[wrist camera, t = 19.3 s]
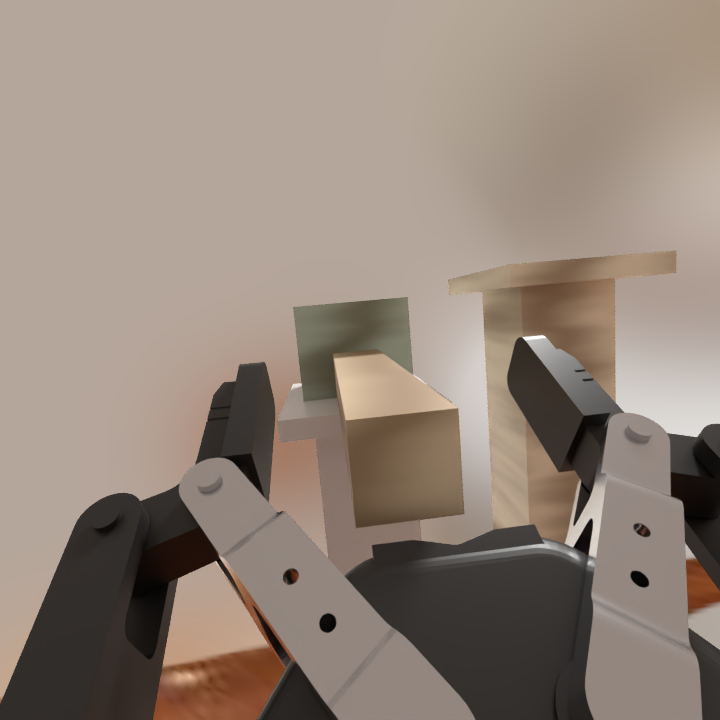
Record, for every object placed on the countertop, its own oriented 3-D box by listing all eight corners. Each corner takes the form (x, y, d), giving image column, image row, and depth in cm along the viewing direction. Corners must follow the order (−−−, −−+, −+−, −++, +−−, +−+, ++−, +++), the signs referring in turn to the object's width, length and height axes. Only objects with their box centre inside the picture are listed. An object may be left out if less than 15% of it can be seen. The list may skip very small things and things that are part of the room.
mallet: (271, 539, 8) (241, 301, 8) (307, 384, 26) (299, 307, 26) (542, 503, 9) (536, 276, 8) (397, 375, 27) (391, 299, 26)
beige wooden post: (527, 869, 22) (503, 264, 17) (464, 693, 31) (439, 280, 27) (683, 838, 22) (696, 248, 18) (573, 675, 32) (565, 270, 28)
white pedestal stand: (323, 910, 21) (264, 425, 17) (324, 716, 31) (286, 383, 27) (491, 876, 21) (466, 403, 18) (439, 697, 31) (416, 370, 28)
